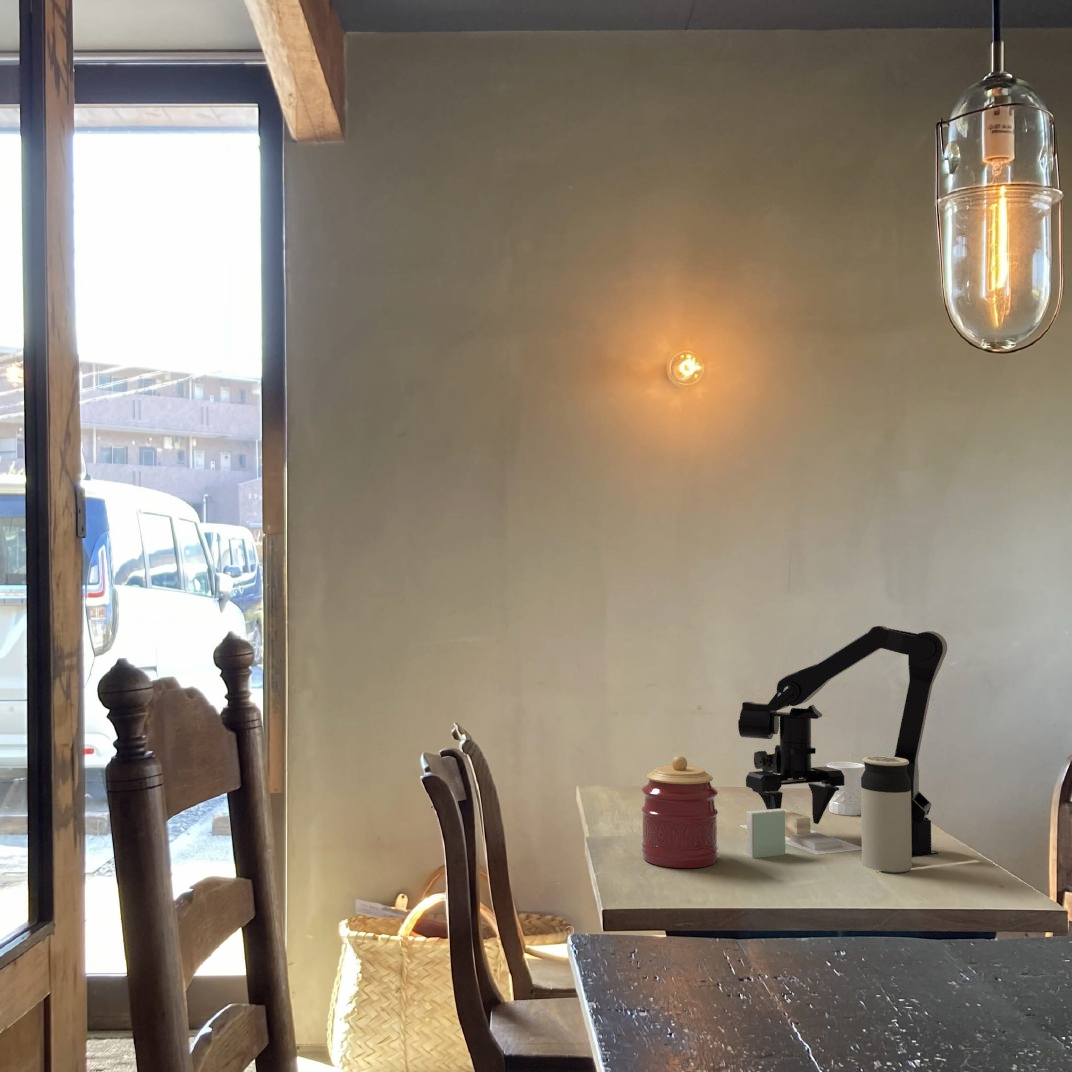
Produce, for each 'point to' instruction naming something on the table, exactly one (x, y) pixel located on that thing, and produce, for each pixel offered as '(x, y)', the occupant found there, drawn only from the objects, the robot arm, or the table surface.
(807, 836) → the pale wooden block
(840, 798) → the white cup
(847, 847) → the mat
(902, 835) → the travel mug
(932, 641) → the robot arm
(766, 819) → the tile
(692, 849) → the canister
